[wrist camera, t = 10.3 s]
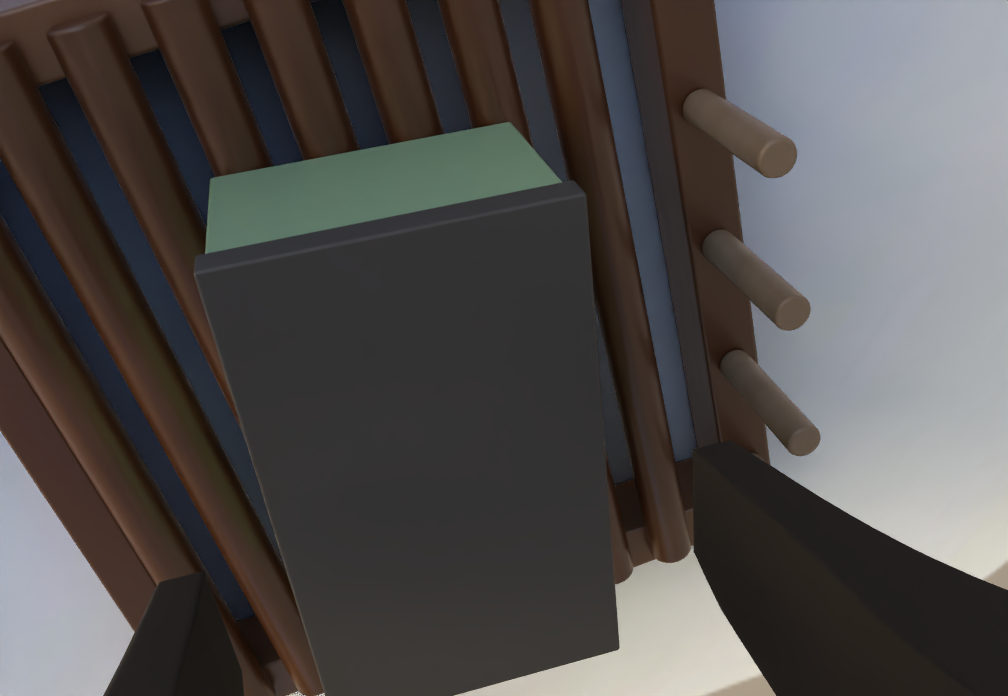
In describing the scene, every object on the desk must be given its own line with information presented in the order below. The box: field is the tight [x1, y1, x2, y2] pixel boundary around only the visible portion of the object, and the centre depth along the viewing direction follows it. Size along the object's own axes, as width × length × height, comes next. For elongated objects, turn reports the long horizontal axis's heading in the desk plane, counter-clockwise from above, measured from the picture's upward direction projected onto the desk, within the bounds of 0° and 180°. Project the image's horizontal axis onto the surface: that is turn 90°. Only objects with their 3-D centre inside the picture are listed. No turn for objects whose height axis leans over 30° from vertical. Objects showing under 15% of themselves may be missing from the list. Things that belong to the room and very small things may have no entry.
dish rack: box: [0, 0, 820, 696], centre depth 19 cm, size 15×16×5 cm
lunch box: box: [194, 122, 619, 696], centre depth 17 cm, size 5×9×4 cm, turn 6°
